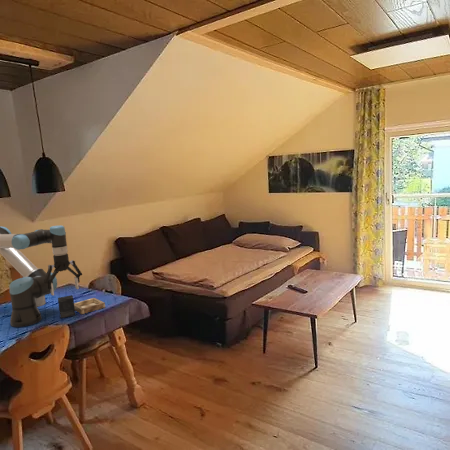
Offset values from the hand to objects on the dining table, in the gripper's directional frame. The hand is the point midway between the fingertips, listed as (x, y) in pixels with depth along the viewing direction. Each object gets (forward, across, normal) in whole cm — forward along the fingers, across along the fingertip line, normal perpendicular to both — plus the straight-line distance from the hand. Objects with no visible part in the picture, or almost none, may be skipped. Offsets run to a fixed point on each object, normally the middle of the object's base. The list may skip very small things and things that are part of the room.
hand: (65, 291), depth 222 cm
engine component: (+14, -5, +35) cm, 38 cm away
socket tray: (+14, +13, +2) cm, 19 cm away
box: (+14, 0, 0) cm, 14 cm away
